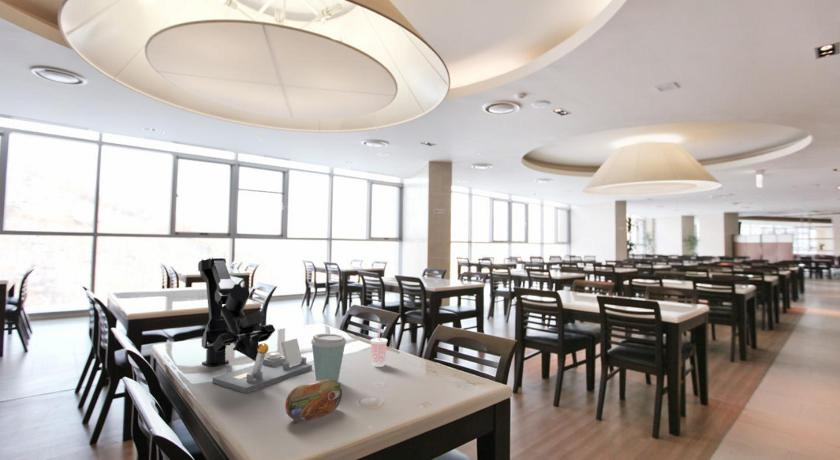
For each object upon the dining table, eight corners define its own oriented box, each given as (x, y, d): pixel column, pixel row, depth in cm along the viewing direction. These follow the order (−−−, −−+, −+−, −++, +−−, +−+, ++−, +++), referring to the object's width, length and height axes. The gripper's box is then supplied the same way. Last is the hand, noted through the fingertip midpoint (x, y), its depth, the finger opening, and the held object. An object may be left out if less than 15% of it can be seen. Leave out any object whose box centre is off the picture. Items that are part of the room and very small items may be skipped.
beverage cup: (388, 362, 149) (389, 324, 149) (385, 367, 142) (386, 328, 143) (372, 361, 149) (372, 323, 150) (368, 367, 143) (369, 327, 143)
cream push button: (266, 360, 140) (266, 354, 140) (274, 357, 143) (275, 351, 143) (273, 361, 138) (273, 355, 138) (281, 359, 141) (282, 353, 141)
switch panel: (212, 382, 125) (212, 371, 125) (280, 361, 148) (280, 351, 148) (245, 393, 117) (246, 381, 117) (312, 369, 139) (312, 358, 140)
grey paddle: (286, 366, 136) (281, 342, 137) (300, 361, 141) (294, 339, 142) (288, 365, 135) (283, 341, 137) (302, 361, 140) (296, 338, 142)
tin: (288, 426, 97) (289, 391, 97) (283, 422, 99) (283, 387, 99) (342, 409, 107) (343, 377, 108) (335, 405, 110) (336, 374, 110)
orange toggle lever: (247, 375, 123) (256, 342, 122) (256, 372, 126) (265, 340, 125) (253, 381, 122) (263, 347, 120) (262, 378, 125) (271, 345, 123)
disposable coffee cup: (333, 375, 134) (334, 329, 134) (351, 384, 126) (353, 335, 126) (303, 382, 126) (305, 334, 127) (321, 392, 119) (323, 341, 119)
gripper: (220, 307, 119) (242, 351, 113) (272, 299, 135) (294, 337, 129) (203, 330, 122) (224, 374, 117) (256, 320, 139) (277, 358, 133)
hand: (257, 359), depth 124 cm, fingers closed, pressing on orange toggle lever
